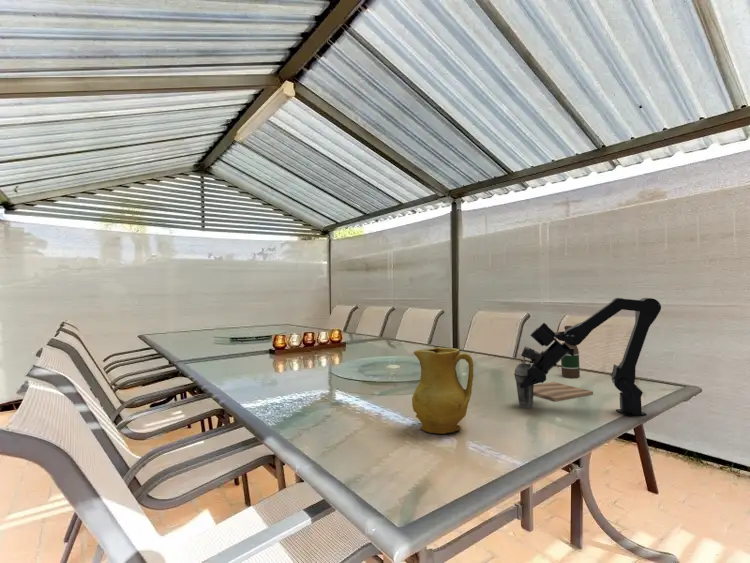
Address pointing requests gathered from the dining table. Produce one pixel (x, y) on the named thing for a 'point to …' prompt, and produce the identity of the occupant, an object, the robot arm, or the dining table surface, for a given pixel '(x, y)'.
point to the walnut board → (559, 391)
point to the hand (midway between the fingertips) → (520, 385)
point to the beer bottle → (570, 362)
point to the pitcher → (441, 390)
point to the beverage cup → (525, 393)
